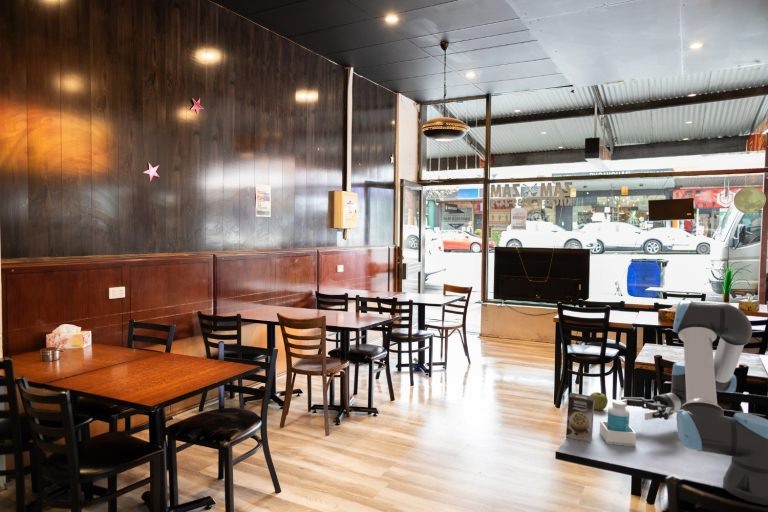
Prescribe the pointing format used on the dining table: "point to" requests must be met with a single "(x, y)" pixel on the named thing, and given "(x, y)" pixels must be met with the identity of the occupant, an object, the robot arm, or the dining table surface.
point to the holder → (617, 436)
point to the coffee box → (580, 417)
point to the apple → (599, 401)
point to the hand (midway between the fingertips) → (629, 410)
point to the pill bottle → (618, 417)
